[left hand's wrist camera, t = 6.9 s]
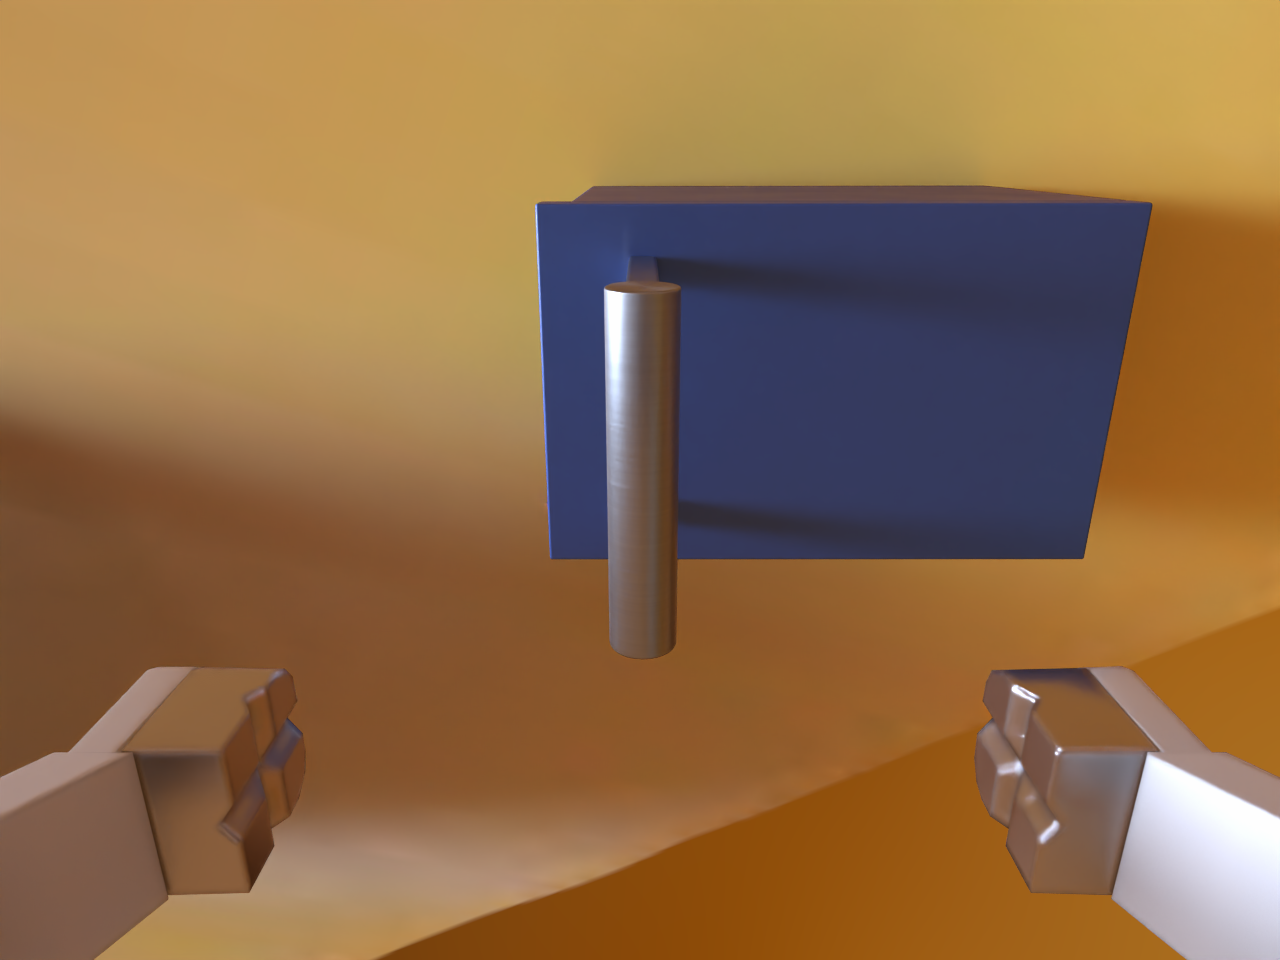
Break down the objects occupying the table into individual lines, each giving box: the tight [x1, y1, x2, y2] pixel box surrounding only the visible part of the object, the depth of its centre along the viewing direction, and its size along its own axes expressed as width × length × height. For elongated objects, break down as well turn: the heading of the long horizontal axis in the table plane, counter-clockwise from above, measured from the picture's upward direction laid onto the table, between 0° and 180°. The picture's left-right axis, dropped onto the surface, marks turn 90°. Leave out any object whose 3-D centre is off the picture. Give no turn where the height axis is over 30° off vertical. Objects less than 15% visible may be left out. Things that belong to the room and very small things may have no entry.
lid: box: [535, 201, 1152, 659], centre depth 21 cm, size 15×10×8 cm, turn 90°
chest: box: [572, 186, 1126, 202], centre depth 29 cm, size 15×10×10 cm
